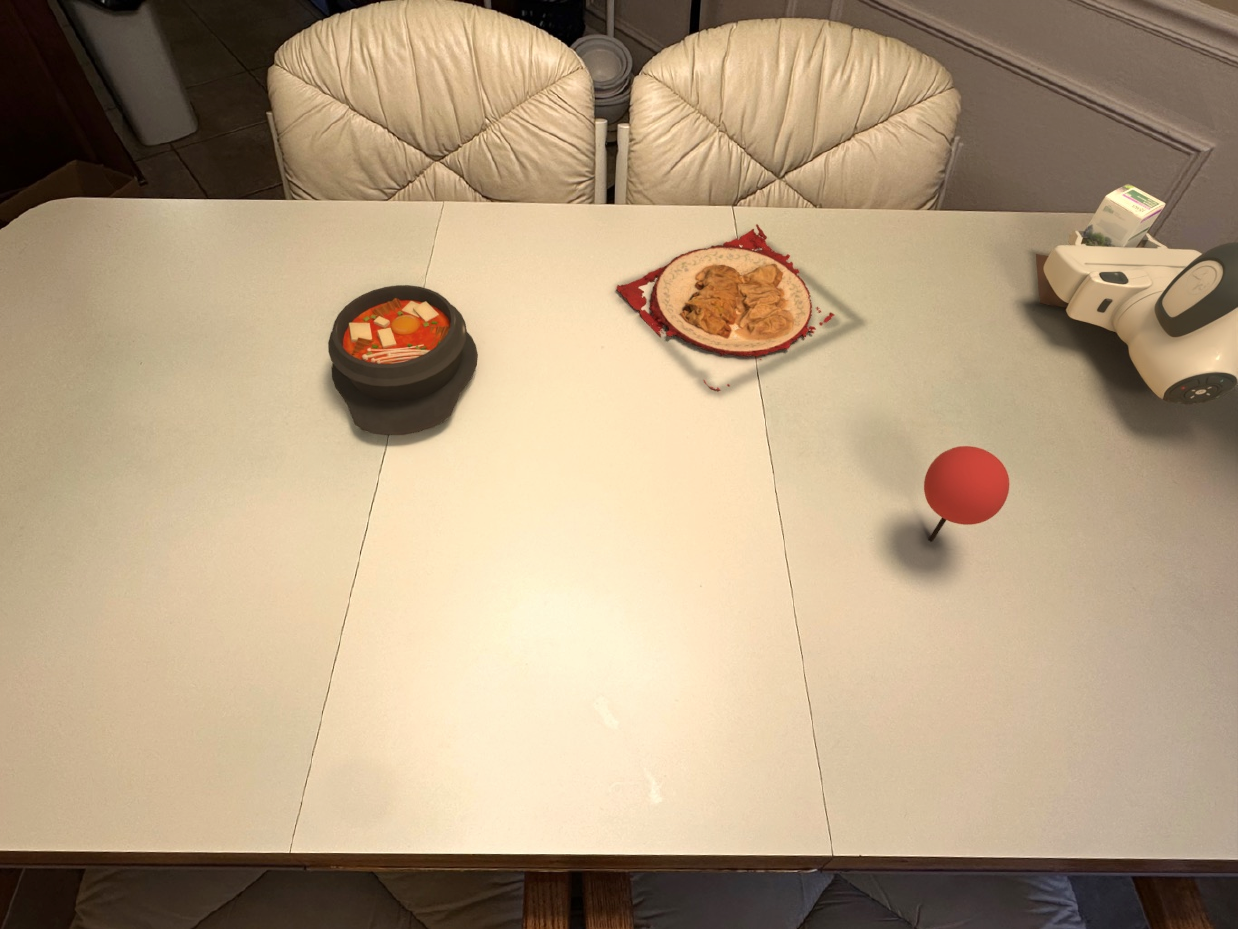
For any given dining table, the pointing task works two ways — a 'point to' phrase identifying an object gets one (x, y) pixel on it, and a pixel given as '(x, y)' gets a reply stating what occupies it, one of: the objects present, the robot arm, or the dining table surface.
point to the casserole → (400, 359)
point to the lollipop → (965, 486)
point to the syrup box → (1123, 218)
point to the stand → (1047, 286)
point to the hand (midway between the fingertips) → (1106, 235)
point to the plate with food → (728, 298)
